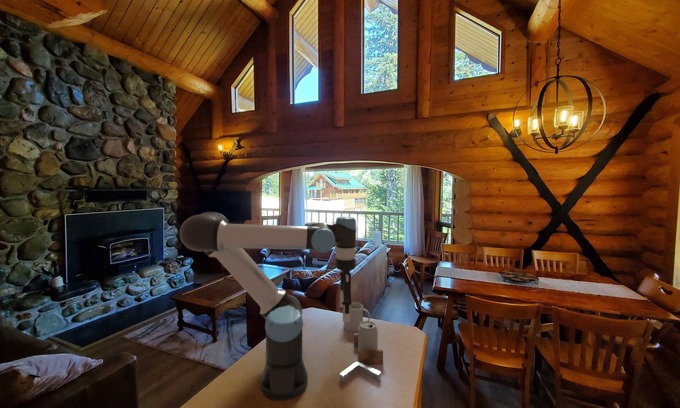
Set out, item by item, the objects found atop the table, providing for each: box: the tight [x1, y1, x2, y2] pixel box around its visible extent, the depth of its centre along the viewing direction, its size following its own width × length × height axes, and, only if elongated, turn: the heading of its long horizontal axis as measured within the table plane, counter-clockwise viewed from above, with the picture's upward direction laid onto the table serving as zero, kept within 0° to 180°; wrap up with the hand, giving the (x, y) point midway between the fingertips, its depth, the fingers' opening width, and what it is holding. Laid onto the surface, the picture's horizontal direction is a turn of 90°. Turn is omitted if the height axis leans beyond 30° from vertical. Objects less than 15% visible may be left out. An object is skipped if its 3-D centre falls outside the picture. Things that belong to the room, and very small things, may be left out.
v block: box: [339, 361, 382, 384], centre depth 98 cm, size 14×8×2 cm, turn 94°
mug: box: [343, 301, 371, 332], centre depth 132 cm, size 11×10×10 cm
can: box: [357, 320, 379, 351], centre depth 110 cm, size 8×8×12 cm
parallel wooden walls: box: [353, 332, 384, 366], centre depth 110 cm, size 9×13×5 cm
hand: (344, 313), depth 109 cm, fingers open, 12 cm apart
